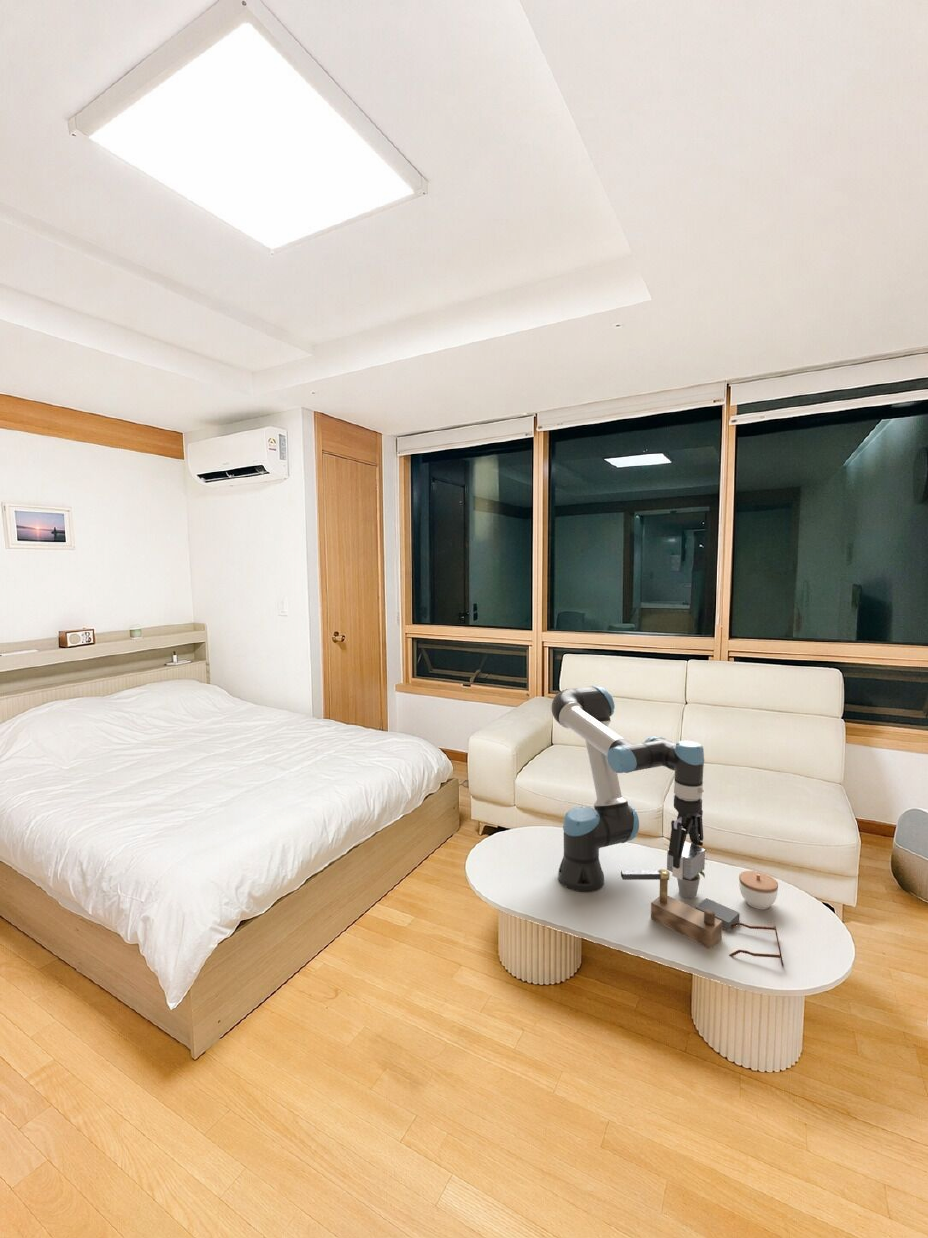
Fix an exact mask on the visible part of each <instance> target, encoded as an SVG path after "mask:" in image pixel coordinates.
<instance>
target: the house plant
mask: <svg viewBox="0 0 928 1238" xmlns="http://www.w3.org/2000/svg"><path fill="white" fill-rule="evenodd" d="M664 845H666V846H667V847H669V844H666V843H664ZM707 850H708V848H705V852H706V851H707ZM705 860H708V858H707V857H705ZM700 875H701V876H702V877H703V878H704V879H705V876H706V874H705V869H704V870H703V871H701V872H700V873H699V874H697V875H696V876H695V877H693V878H692V879H691V880H689V879H687V878H684V877H683V879H682V880H681V879H678V878H676V880H677V886H678V892H679V894H680V896H682V897H684V898H687V899H694V898H696V897H697V893H698V890H699V885H700V880H701V876H700Z"/></svg>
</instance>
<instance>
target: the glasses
mask: <svg viewBox="0 0 928 1238" xmlns="http://www.w3.org/2000/svg"><path fill="white" fill-rule="evenodd" d="M737 926H741V927H745V928H748V929H749V930H751V929H752V930H768V931H771V930H773V931H775V937H776V942H777V948H778V953H779V954H773V953H759V952H758V953H756V952H752V951H749V950H744V949H737V950H735V951H733V952H731V953H729V954H728V957H734V956H736V955H738V954H740V953H741V954H746V955H750V956H753V957H758V958H759V957H762V958H763V957H764V958H775V959H776V958H777V959H778V958H779V959H780V962H781V966H784V961H783V956H782V950H781V945H780V941H779V936H778V931H777V927H776V925H774V926H759V925H758V926H757V925H749V924H745V923H742V922H738V923H734V924H733V925H731V929H734V928H735V927H737ZM731 929H730V930H731Z"/></svg>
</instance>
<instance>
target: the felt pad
mask: <svg viewBox="0 0 928 1238" xmlns="http://www.w3.org/2000/svg"><path fill="white" fill-rule="evenodd" d="M694 908H695V909H697V910H700V911H702V912H704V911H705V910H711V911H713V912H714V913H715V918H717V919H719V920H721V921H722V929H723V930H726V931H728V932H730V931H731V925H733V924H734V923H740V919H741V917H740V912H739V911H736V910H735V909H732V908H730V907H727V906H726V905H723V904H721V903H718V902H716V901H714V900H711V899H709V898H704V900H703V901H701V902H700V903H699V904H698V905H696V906H695V907H694Z"/></svg>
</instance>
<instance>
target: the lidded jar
mask: <svg viewBox="0 0 928 1238" xmlns="http://www.w3.org/2000/svg"><path fill="white" fill-rule="evenodd" d="M738 880H739V891H740V894H741V896H742V898H743V899H744V900H745V901H746V903H747V904H748V905H749V906H750V907H752V908H754V909H757V910H767V909H769V908H770V907H771V906H772V905H774V903H775V902H776V899H777V896H778V888H779V883H778V881H777V880H776V879H775V878H774V877H772V876H771V875H769V874H766V873H763V872H760V871H755V870H748V871H747V870H745V871H743V872H741V873H739V876H738Z"/></svg>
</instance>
